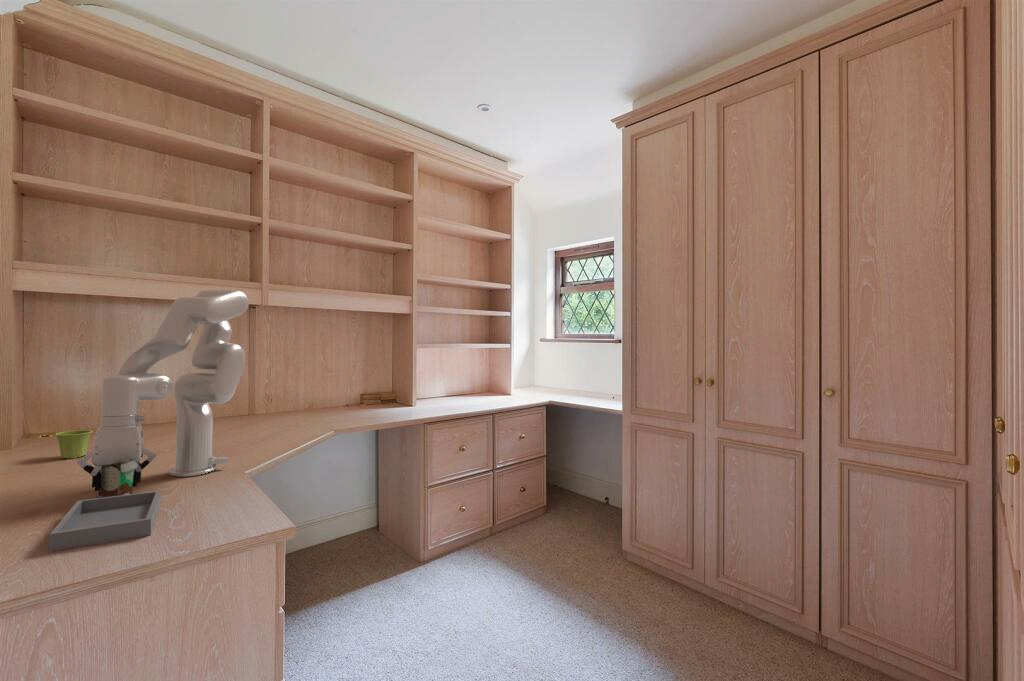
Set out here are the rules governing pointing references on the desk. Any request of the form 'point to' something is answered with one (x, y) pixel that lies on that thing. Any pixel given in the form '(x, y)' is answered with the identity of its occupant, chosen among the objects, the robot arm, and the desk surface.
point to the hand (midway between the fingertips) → (116, 487)
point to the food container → (117, 479)
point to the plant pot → (73, 443)
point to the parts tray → (106, 520)
